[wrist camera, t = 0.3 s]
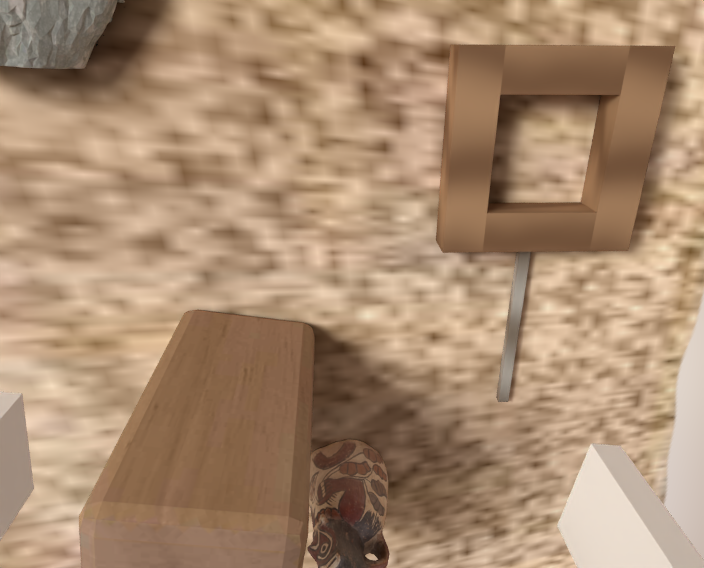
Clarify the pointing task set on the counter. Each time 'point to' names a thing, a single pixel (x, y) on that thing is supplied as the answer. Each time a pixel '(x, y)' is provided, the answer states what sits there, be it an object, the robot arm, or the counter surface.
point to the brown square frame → (603, 167)
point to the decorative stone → (52, 31)
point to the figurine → (348, 505)
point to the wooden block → (212, 453)
